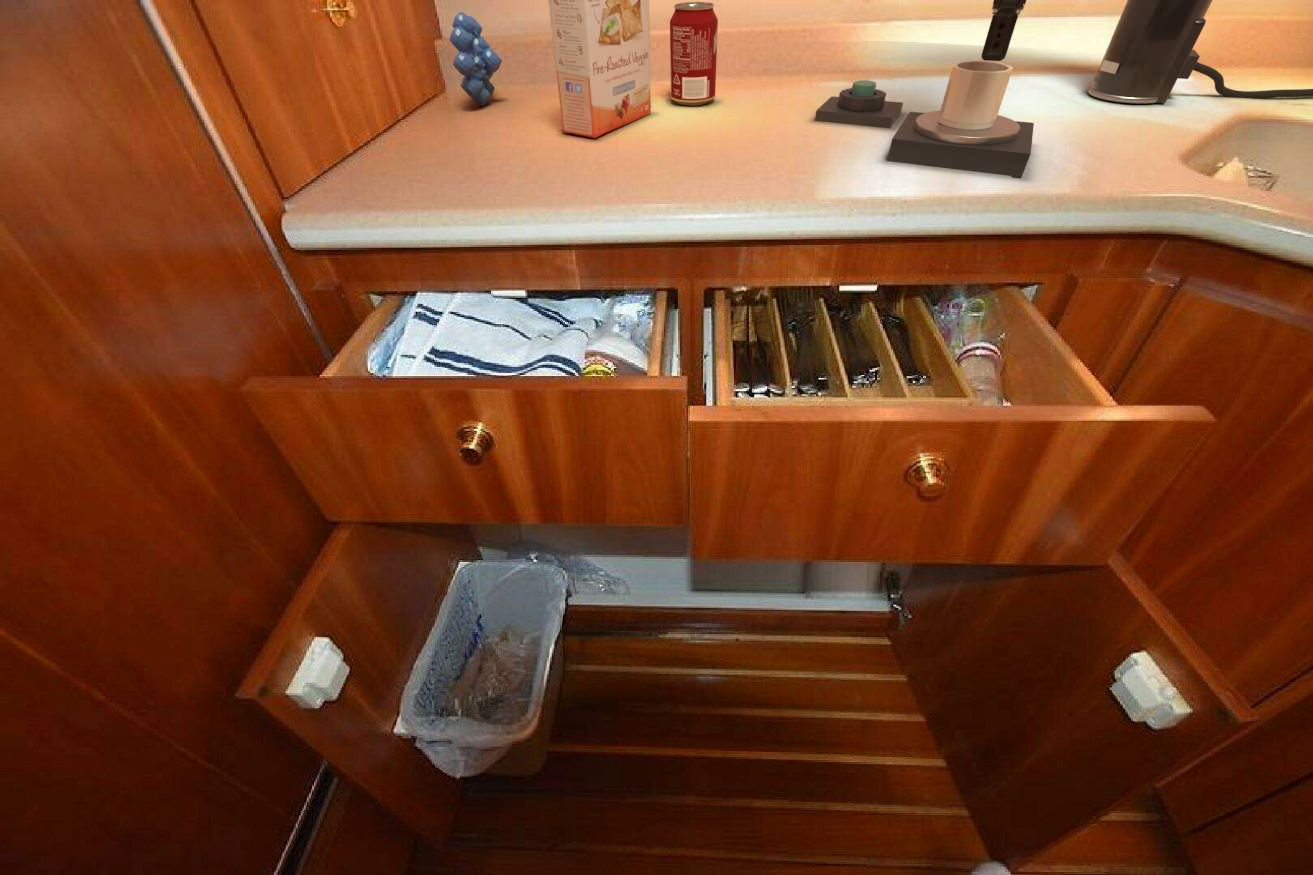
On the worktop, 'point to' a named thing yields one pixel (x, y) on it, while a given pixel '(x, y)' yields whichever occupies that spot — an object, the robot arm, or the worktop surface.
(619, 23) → the cracker box
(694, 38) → the soda can
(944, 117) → the cup
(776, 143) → the worktop surface
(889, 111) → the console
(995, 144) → the scale
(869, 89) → the button
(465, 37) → the grapes
